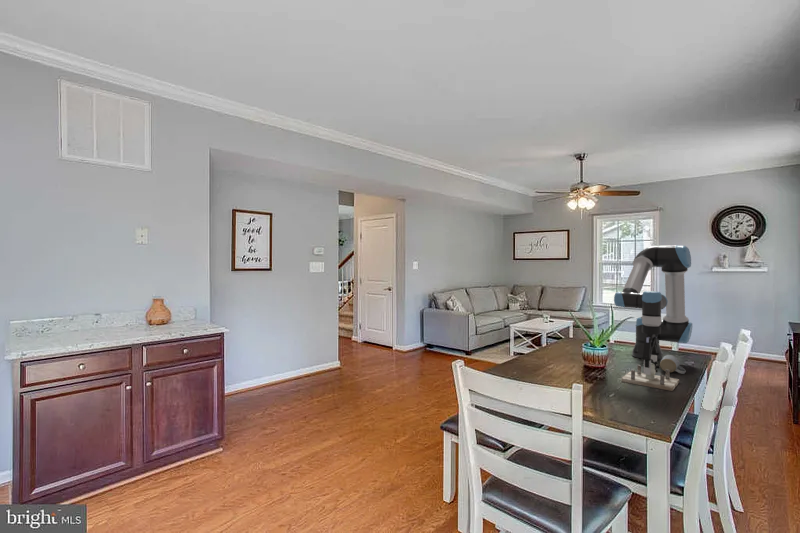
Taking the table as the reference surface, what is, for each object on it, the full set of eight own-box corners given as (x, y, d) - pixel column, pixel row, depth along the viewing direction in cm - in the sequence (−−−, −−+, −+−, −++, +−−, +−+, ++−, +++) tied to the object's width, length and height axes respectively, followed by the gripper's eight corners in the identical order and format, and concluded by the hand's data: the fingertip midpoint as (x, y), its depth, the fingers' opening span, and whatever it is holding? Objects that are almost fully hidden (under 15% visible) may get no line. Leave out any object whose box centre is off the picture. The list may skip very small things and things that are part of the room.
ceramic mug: (659, 371, 207) (659, 356, 207) (661, 368, 213) (662, 353, 213) (684, 376, 200) (685, 360, 200) (686, 372, 206) (687, 357, 206)
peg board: (630, 373, 203) (630, 362, 203) (679, 382, 189) (679, 370, 189) (621, 381, 191) (621, 369, 191) (672, 391, 178) (672, 378, 178)
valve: (658, 380, 183) (659, 374, 193) (658, 366, 183) (659, 360, 193) (641, 378, 187) (643, 371, 197) (641, 364, 187) (643, 358, 196)
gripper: (648, 320, 201) (647, 364, 202) (635, 327, 183) (634, 375, 184) (666, 322, 196) (665, 367, 197) (654, 329, 178) (653, 378, 179)
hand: (650, 371), depth 190 cm, fingers closed on valve, 12 cm apart
